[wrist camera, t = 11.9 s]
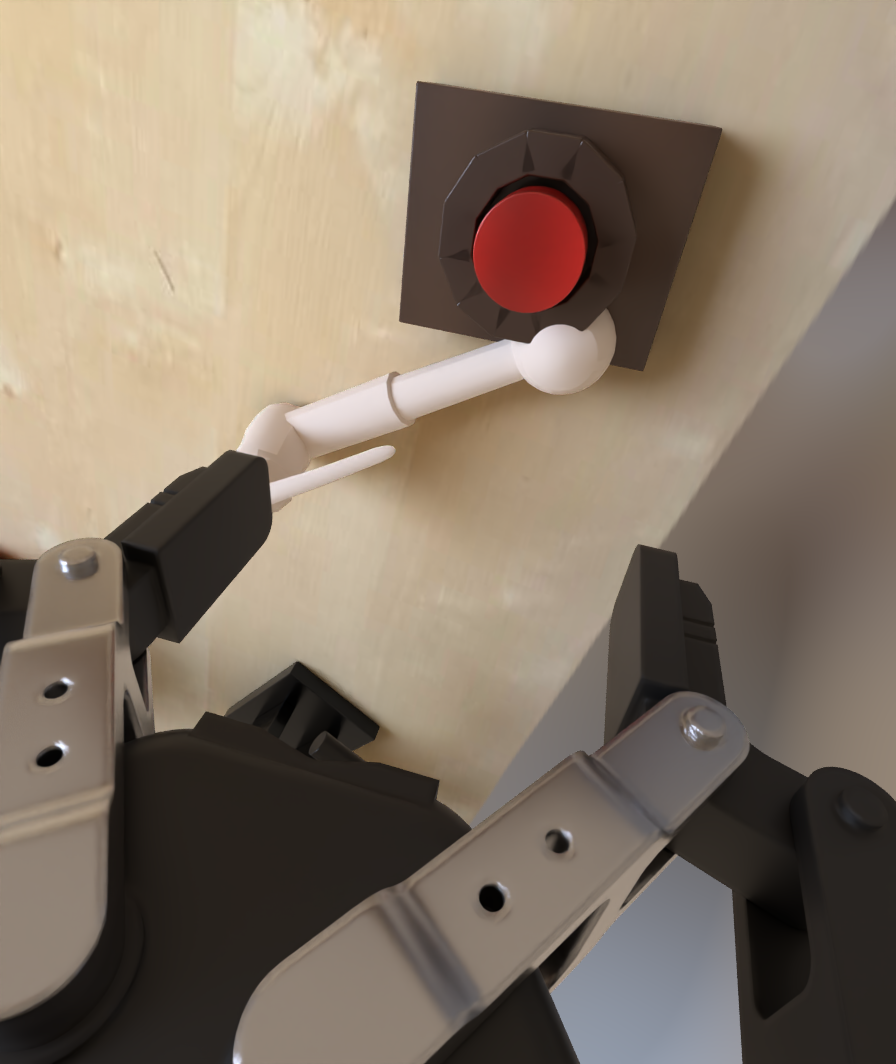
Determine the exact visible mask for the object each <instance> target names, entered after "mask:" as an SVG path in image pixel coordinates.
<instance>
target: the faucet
mask: <svg viewBox="0 0 896 1064" xmlns="http://www.w3.org/2000/svg"><path fill="white" fill-rule="evenodd" d="M615 346H616V332H615V325H614V322H613V320H612V318H611V315H610V313H609V311H608V310H607V308H606V309H605V310H604V311H603V312H602V313H601V314H600V315H599V316H598V317H597V318H596V320H595V321H594V322H593V323H592V324H591V325H590V326H589V327H588V328H587V329H585V330H584V331H579V330H577V329H576V328H574V327H572V326H568V325H553V326H549V327H546V328H545V329H543V330H541V331H540V332H539V333H538V334H537V335H536V336H535V337H534V338H533V340H532V342H531V343H530V344H526V343H521V342H516V341H511V340H506V339H504V340H502V341H499V342H496V343H493V344H490V345H487V346H484V347H481V348H478V349H475V350H472V351H469V352H466V353H463V354H461V355H458V356H455V357H452V358H449V359H446V360H443V361H440V362H437V363H434V364H431V365H428V366H425V367H423V368H420V369H417V370H414V371H411V372H408V373H405V374H402V375H400V374H399V373H397V372H392V373H389V374H386V375H383V376H381V377H378V378H376V379H373V380H370V381H368V382H365V383H363V384H360V385H357V386H355V387H352V388H350V389H347V390H344V391H342V392H339V393H337V394H334V395H332V396H329V397H326V398H324V399H321V400H319V401H316V402H313V403H311V404H308V405H306V406H303V407H298V406H295V405H292V404H289V403H286V402H283V403H277V404H271V405H268V406H266V407H265V408H264V409H263V410H262V411H261V412H260V413H259V414H258V415H256V417H255V418H254V419H253V421H252V422H251V424H250V425H249V426H248V428H247V429H246V431H245V434H244V437H243V440H242V442H241V444H240V446H239V447H238V449H237V450H236V451H237V452H242V453H246V454H251V455H255V456H259V457H263V458H264V459H265V460H266V461H267V464H268V470H269V482H270V493H271V505H272V513H273V512H277V511H279V510H281V509H282V508H283V507H284V506H285V505H287V504H288V503H289V502H290V501H291V500H292V497H294V496H296V495H299V494H302V493H304V492H307V491H310V490H313V489H315V488H318V487H321V486H323V485H326V484H329V483H331V482H334V481H336V480H339V479H341V478H344V477H346V476H349V475H351V474H354V473H356V472H359V471H361V470H363V469H366V468H368V467H371V466H373V465H376V464H378V463H381V462H383V461H385V460H387V459H388V458H390V457H392V456H393V455H394V453H395V452H396V450H395V448H394V447H393V446H389V445H385V446H381V447H376V448H373V449H370V450H367V451H364V452H362V453H359V454H356V455H353V456H350V457H348V458H345V459H342V460H339V461H336V462H334V463H331V464H328V465H325V466H323V467H320V468H317V469H314V470H310V471H307V472H305V470H306V469H307V468H308V466H309V463H310V460H311V459H313V458H316V457H319V456H322V455H325V454H328V453H331V452H334V451H337V450H340V449H343V448H346V447H349V446H352V445H355V444H358V443H361V442H364V441H367V440H370V439H372V438H375V437H378V436H381V435H384V434H387V433H390V432H393V431H396V430H399V429H402V428H405V427H408V426H410V425H413V424H414V423H415V419H416V418H418V417H421V416H423V415H426V414H429V413H432V412H434V411H437V410H440V409H443V408H445V407H448V406H451V405H454V404H457V403H459V402H462V401H465V400H468V399H470V398H473V397H476V396H479V395H481V394H484V393H487V392H490V391H492V390H495V389H498V388H501V387H503V386H506V385H509V384H512V383H515V382H517V381H520V380H523V379H525V380H526V381H527V382H528V383H529V384H531V385H532V386H534V387H535V388H537V389H538V390H540V391H543V392H546V393H549V394H558V395H566V394H572V393H577V392H579V391H582V390H584V389H586V388H588V387H590V386H591V385H592V384H594V383H595V382H596V381H597V380H599V379H600V377H601V376H602V375H603V373H604V372H605V371H606V369H607V368H608V366H609V364H610V362H611V360H612V357H613V355H614V352H615Z"/></svg>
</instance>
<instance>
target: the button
mask: <svg viewBox="0 0 896 1064" xmlns="http://www.w3.org/2000/svg"><path fill="white" fill-rule="evenodd" d="M587 249H588V232H587V227H586V223H585V220H584V218H583V216H582V214H581V211H580V210H579V208H578V207H577V205H576V204H575V203H574V202H573V201H572V200H571V199H570V198H569V197H568V196H566V195H565V194H564V193H562V192H560V191H558V190H556V189H554V188H550V187H546V186H529V187H524V188H521V189H518V190H516V191H514V192H512V193H510V194H509V195H508V196H506V197H505V198H504V199H502V200H501V201H500V202H498V203H497V204H496V205H495V206H494V207H493V208H492V209H491V210H490V211H489V212H488V213H487V214H486V216H485V217H484V219H483V220H482V222H481V224H480V226H479V228H478V230H477V233H476V236H475V241H474V247H473V262H474V268H475V272H476V275H477V278H478V280H479V282H480V284H481V286H482V288H483V289H484V291H485V292H486V293H487V294H488V296H489V297H490V298H491V299H492V300H494V301H495V302H496V303H497V304H499V305H501V306H502V307H504V308H506V309H509V310H511V311H515V312H520V313H534V312H540V311H543V310H546V309H549V308H551V307H553V306H555V305H556V304H558V303H559V302H561V301H562V300H563V299H564V298H565V297H566V296H567V295H568V294H569V293H570V292H571V291H572V289H573V288H574V287H575V285H576V283H577V282H578V280H579V278H580V275H581V273H582V270H583V266H584V263H585V259H586V255H587Z"/></svg>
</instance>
